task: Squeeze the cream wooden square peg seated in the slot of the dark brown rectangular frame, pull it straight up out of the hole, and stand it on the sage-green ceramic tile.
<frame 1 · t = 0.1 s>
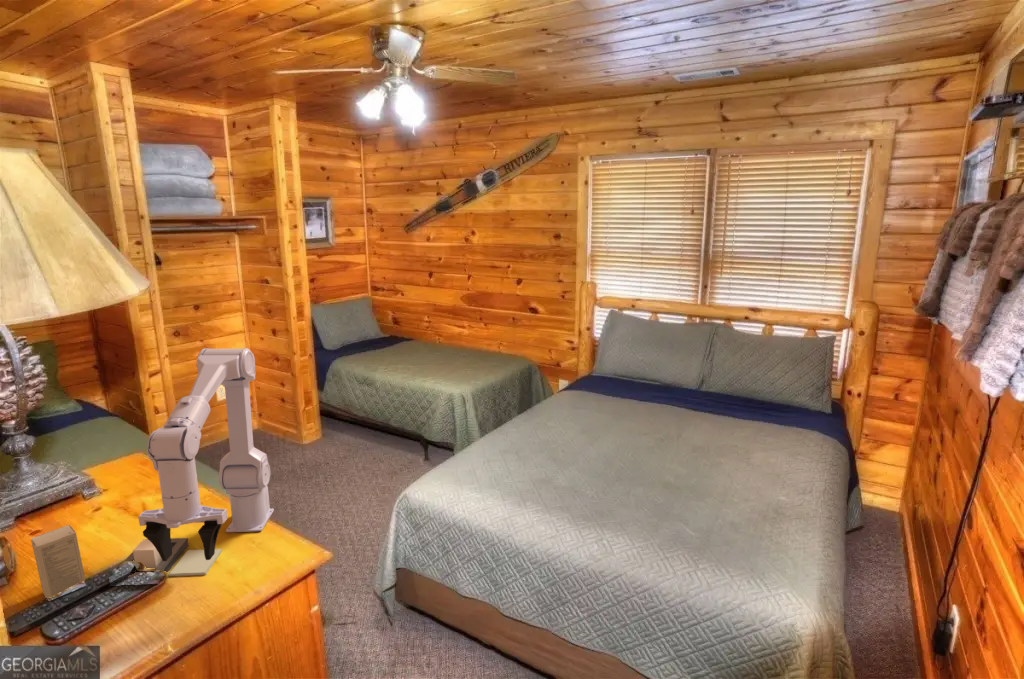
hand: (188, 557, 103), 10 cm above the nightstand, tool pointing down, fingers open, 7 cm apart
skincare box: (64, 591, 108), on the nightstand
dark brown rectangular frame: (151, 565, 116), on the nightstand
peg: (150, 554, 115), in the dark brown rectangular frame
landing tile: (196, 563, 117), on the nightstand
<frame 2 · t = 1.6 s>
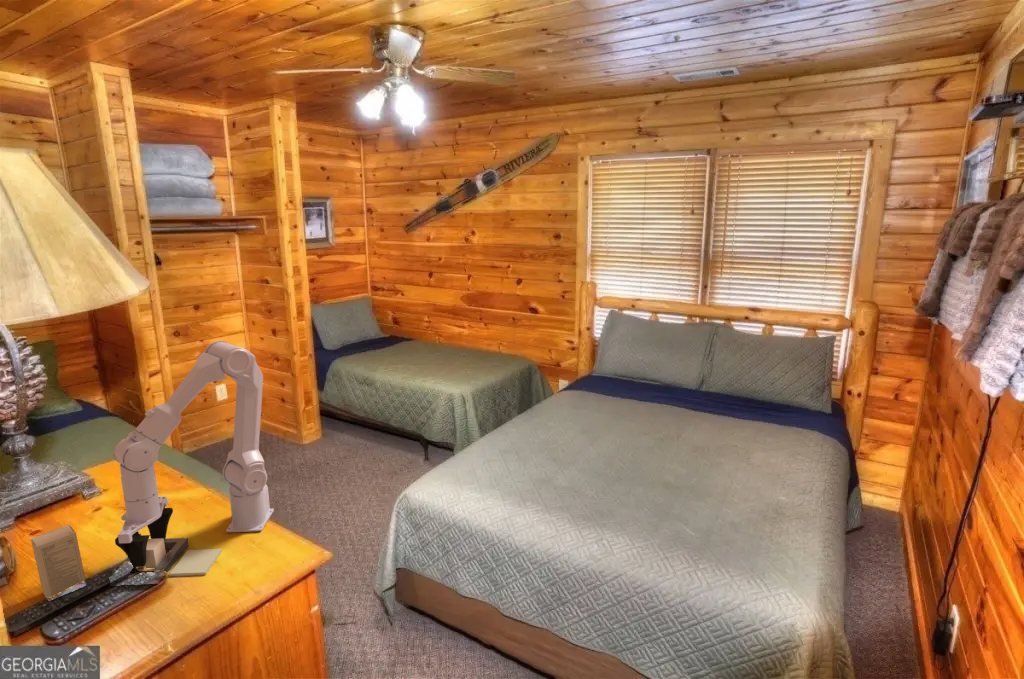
hand: (149, 554, 115), 3 cm above the nightstand, tool pointing down, fingers open, 7 cm apart
nothing on the nightstand moved.
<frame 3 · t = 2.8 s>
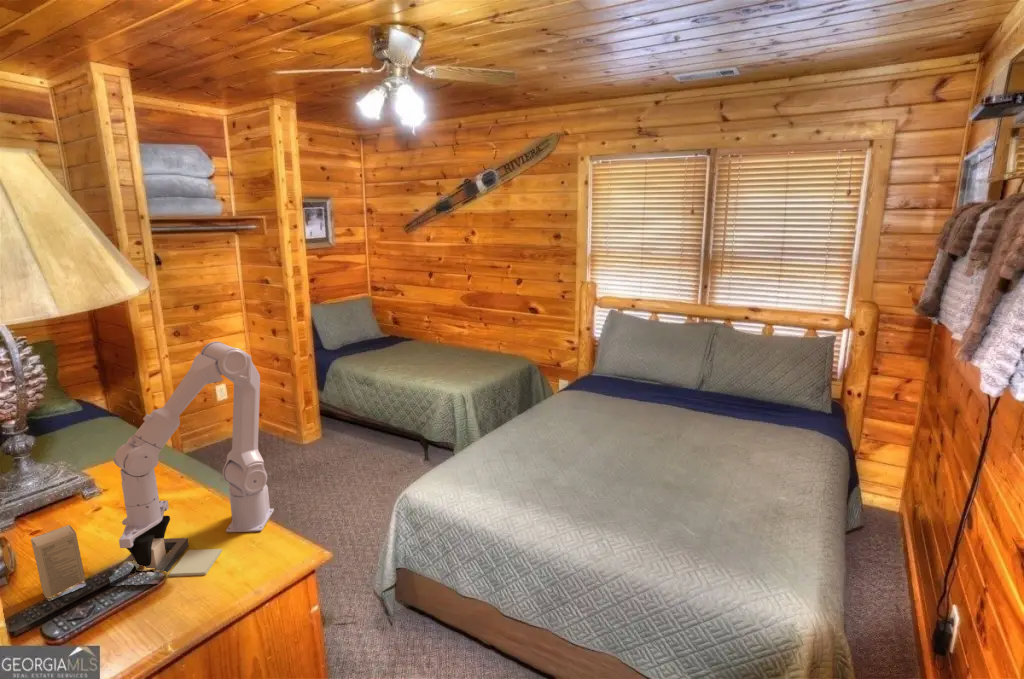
hand: (150, 558, 116), 2 cm above the nightstand, tool pointing down, fingers closed on peg, 4 cm apart
peg: (150, 554, 115), in the dark brown rectangular frame, touching gripper
everything else where it was.
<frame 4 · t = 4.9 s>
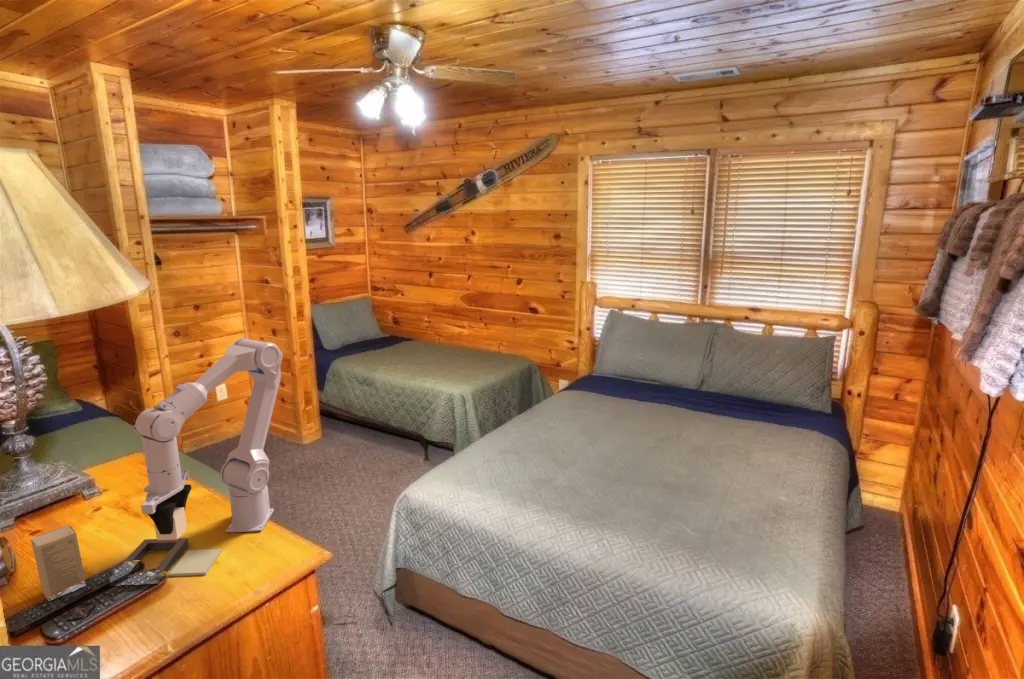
hand: (172, 526, 114), 9 cm above the nightstand, tool pointing down, fingers closed on peg, 4 cm apart
peg: (170, 523, 114), point 10 cm above the nightstand, touching gripper
everything else where it was.
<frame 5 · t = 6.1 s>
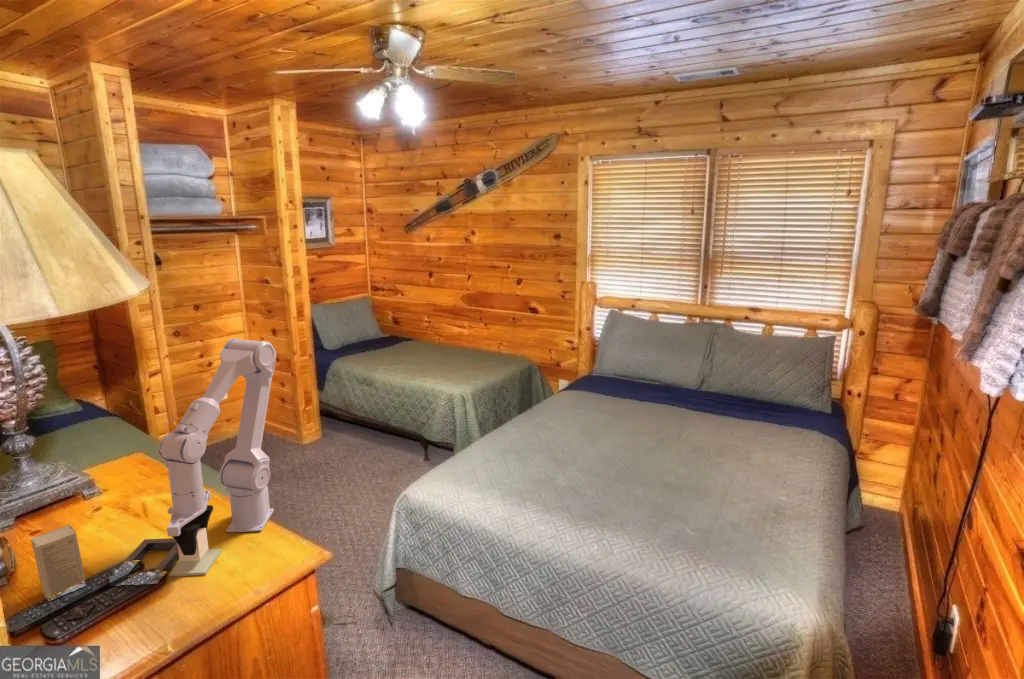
hand: (194, 547, 116), 4 cm above the nightstand, tool pointing down, fingers closed on peg, 4 cm apart
peg: (193, 544, 116), point 5 cm above the nightstand, touching gripper
everything else where it was.
when the fingers open (3 cm above the nightstand, at t = 7.0 s): peg drops 1 cm, resting on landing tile.
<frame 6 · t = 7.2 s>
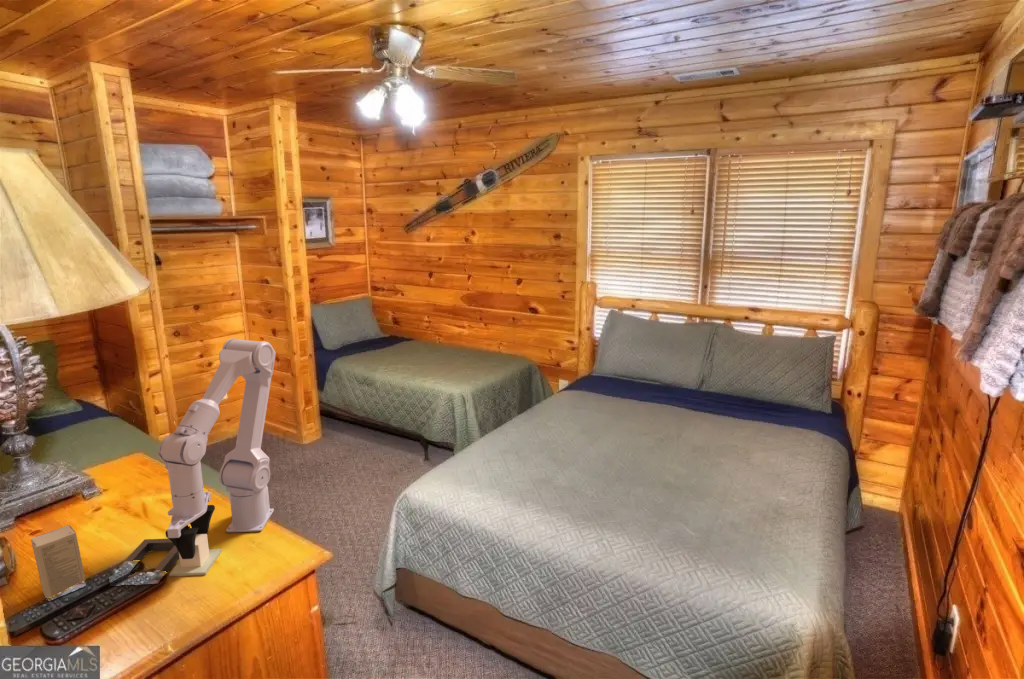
hand: (194, 549, 116), 3 cm above the nightstand, tool pointing down, fingers open, 5 cm apart
peg: (193, 550, 116), on the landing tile, point 3 cm above the nightstand
everything else where it was.
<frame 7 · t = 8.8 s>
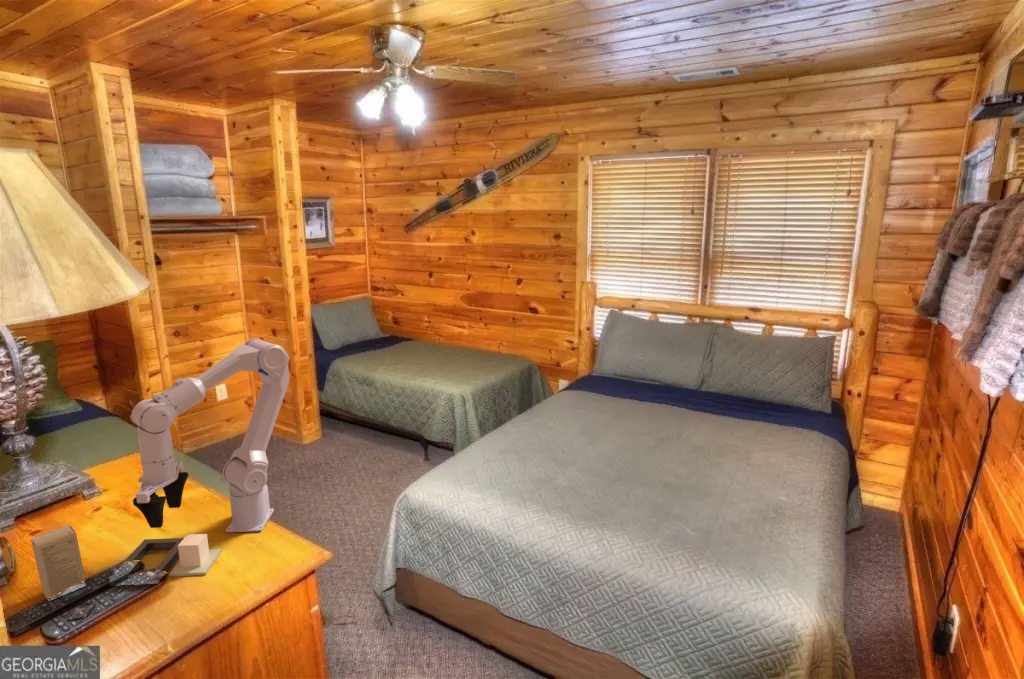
hand: (166, 516, 117), 9 cm above the nightstand, tool pointing down, fingers open, 7 cm apart
nothing on the nightstand moved.
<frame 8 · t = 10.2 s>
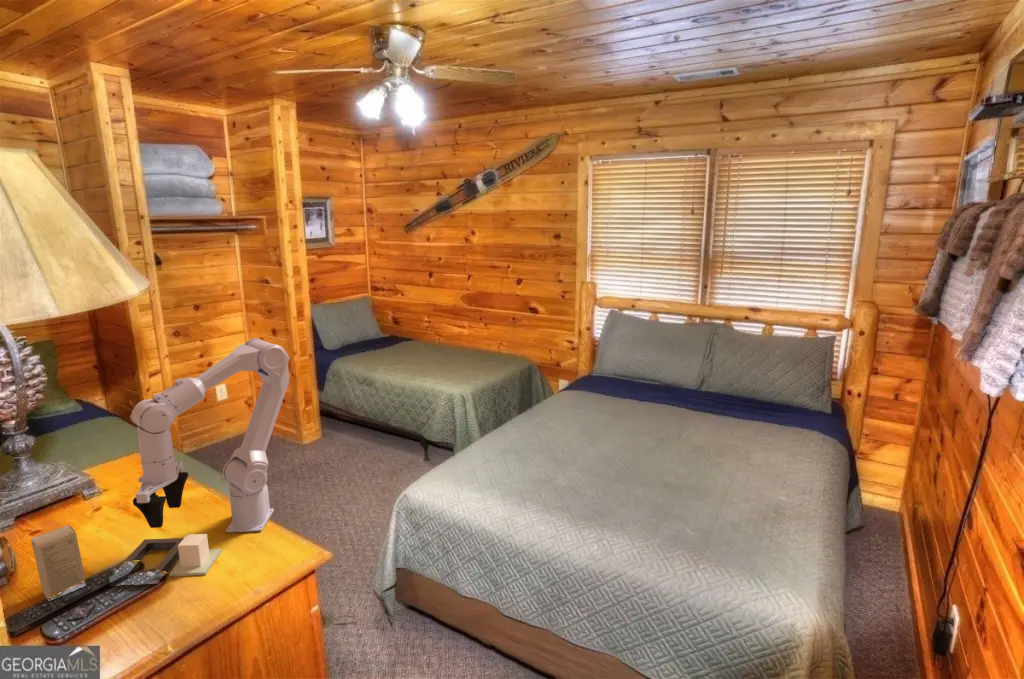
hand: (165, 516, 117), 9 cm above the nightstand, tool pointing down, fingers open, 7 cm apart
nothing on the nightstand moved.
at the end: peg inside the target area (0.2 cm from its centre), point 3.1 cm above the nightstand; peg tilted 0°; the gripper is holding nothing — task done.
